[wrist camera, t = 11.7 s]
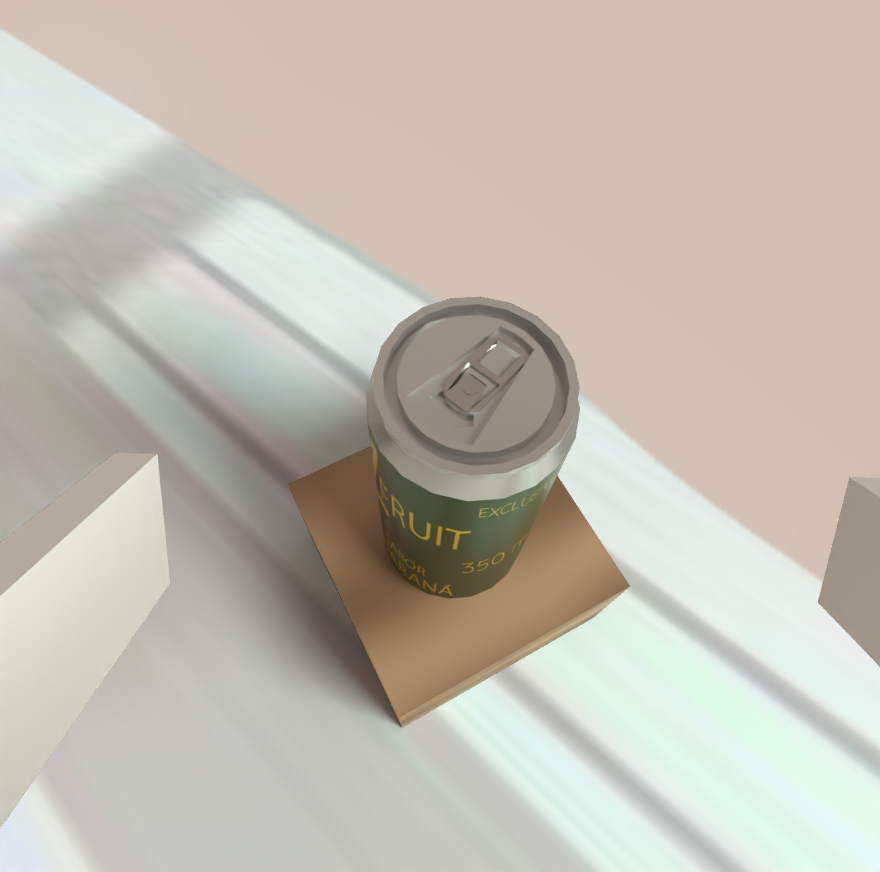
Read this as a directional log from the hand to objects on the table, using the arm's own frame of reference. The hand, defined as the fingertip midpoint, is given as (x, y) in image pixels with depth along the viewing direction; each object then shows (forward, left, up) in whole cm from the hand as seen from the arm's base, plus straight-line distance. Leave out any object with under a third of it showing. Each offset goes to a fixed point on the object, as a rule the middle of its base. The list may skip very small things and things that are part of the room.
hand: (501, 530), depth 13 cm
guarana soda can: (-4, +2, -14) cm, 14 cm away
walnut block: (-4, +2, -19) cm, 20 cm away
